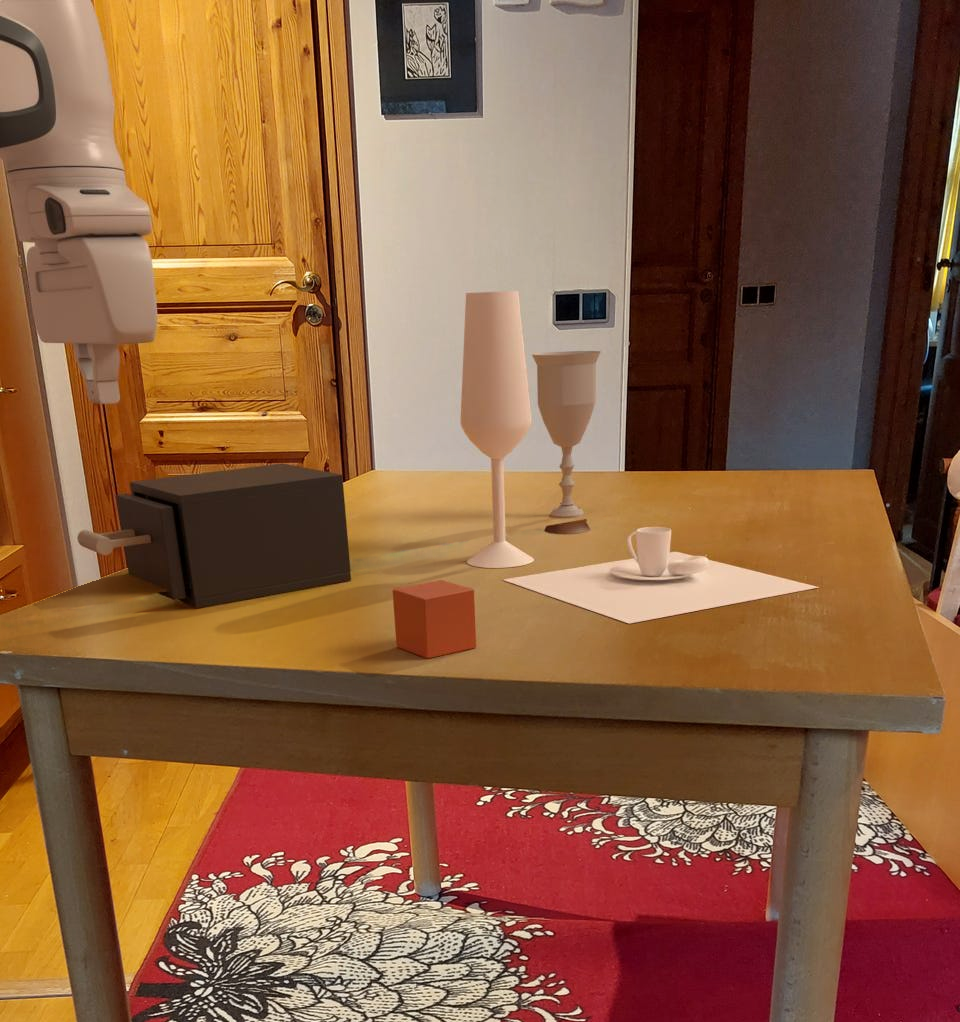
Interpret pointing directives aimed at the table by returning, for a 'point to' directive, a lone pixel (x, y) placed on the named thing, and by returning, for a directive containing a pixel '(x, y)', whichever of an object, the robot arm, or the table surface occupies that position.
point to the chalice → (566, 418)
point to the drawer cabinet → (257, 530)
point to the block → (434, 618)
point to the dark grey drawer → (147, 542)
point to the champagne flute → (495, 402)
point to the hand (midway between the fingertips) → (104, 403)
